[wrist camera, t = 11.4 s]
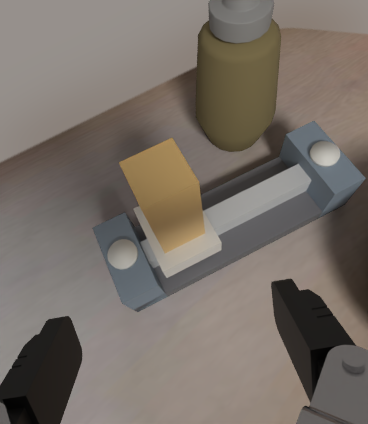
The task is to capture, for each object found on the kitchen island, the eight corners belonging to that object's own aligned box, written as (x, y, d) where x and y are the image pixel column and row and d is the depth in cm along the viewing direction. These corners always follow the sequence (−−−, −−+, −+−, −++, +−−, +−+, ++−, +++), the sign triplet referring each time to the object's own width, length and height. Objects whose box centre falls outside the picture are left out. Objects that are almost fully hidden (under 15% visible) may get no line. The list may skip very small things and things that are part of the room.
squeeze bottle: (267, 164, 33) (313, -19, 17) (192, 158, 35) (167, -18, 18) (272, 105, 37) (314, -97, 20) (202, 101, 38) (189, -91, 22)
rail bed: (137, 312, 28) (120, 302, 24) (110, 246, 31) (90, 226, 26) (344, 204, 31) (367, 175, 26) (301, 152, 34) (315, 117, 29)
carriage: (170, 282, 27) (137, 235, 17) (143, 225, 30) (99, 152, 19) (221, 256, 28) (221, 193, 17) (190, 202, 30) (174, 118, 20)
